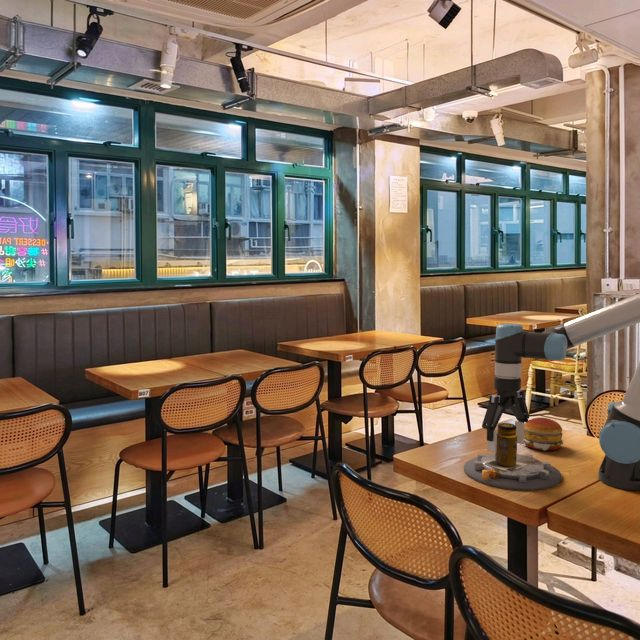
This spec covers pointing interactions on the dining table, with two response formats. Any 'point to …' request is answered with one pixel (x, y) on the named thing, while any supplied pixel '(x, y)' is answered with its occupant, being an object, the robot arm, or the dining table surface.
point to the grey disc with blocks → (526, 471)
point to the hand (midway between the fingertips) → (505, 447)
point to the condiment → (505, 447)
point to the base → (512, 484)
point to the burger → (543, 434)
